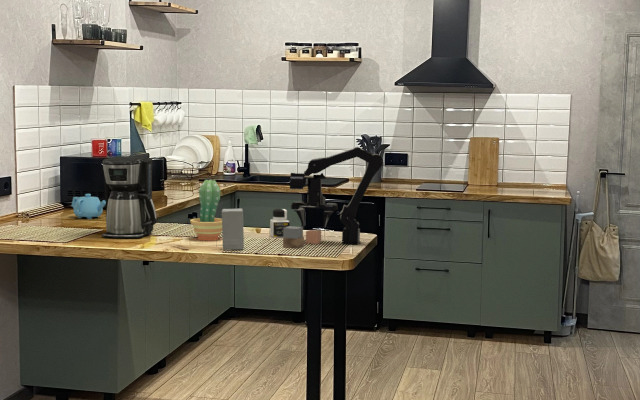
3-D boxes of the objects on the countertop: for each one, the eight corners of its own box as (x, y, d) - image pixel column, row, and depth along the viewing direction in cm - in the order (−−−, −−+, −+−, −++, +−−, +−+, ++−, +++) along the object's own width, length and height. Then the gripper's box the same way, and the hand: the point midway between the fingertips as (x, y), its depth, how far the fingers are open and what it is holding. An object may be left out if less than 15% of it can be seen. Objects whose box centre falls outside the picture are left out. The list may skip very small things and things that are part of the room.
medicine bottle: (273, 238, 372) (273, 210, 371) (269, 235, 379) (270, 208, 378) (289, 237, 374) (289, 209, 373) (285, 235, 381) (286, 208, 380)
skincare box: (244, 247, 346) (244, 208, 344) (243, 250, 339) (243, 210, 337) (222, 247, 346) (222, 207, 344) (221, 250, 339) (221, 209, 337)
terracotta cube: (321, 242, 363) (321, 230, 362) (317, 244, 358) (317, 232, 357) (309, 241, 364) (310, 229, 364) (305, 243, 360) (306, 231, 359)
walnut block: (303, 246, 352) (304, 236, 352) (298, 248, 346) (298, 238, 346) (288, 245, 354) (289, 235, 354) (283, 247, 348) (283, 237, 348)
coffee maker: (102, 240, 358) (101, 158, 355) (98, 229, 389) (97, 154, 386) (157, 238, 365) (157, 158, 362) (149, 228, 396) (149, 154, 392)
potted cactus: (234, 238, 369) (234, 179, 366) (209, 242, 356) (209, 182, 353) (206, 235, 377) (206, 177, 375) (182, 239, 365) (182, 179, 362)
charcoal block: (302, 236, 351) (303, 227, 351) (297, 238, 346) (297, 228, 345) (289, 235, 353) (289, 226, 353) (283, 237, 348) (283, 227, 347)
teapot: (61, 218, 423) (61, 194, 421) (83, 214, 438) (82, 191, 437) (96, 221, 415) (95, 196, 414) (116, 217, 431) (116, 193, 429)
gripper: (341, 188, 363) (341, 225, 365) (299, 187, 369) (299, 223, 371) (333, 191, 353) (333, 229, 355) (290, 189, 359) (290, 226, 361)
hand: (314, 226), depth 360 cm, fingers open, 9 cm apart
